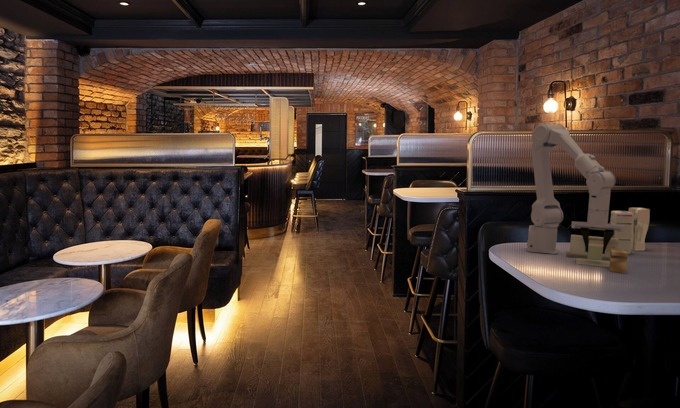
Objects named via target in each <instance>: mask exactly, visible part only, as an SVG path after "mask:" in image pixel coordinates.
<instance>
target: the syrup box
mask: <svg viewBox="0 0 680 408" xmlns="http://www.w3.org/2000/svg"><path fill="white" fill-rule="evenodd" d="M628 211H629V210H628ZM628 211H627V210H611V211H610V222H609V224H615V225H623V226H624V230H623V232H618V231H614V235H613V236H612V238H618V240H619V242H618V250H622V251H626V252H627V253H628V254H627V255H631V251H632V250H631V241H632V227H633V213H630V212H628Z"/></svg>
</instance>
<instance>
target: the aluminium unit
mask: <svg viewBox="0 0 680 408" xmlns="http://www.w3.org/2000/svg"><path fill="white" fill-rule="evenodd" d="M589 238H596V239H603V238H604V236H603V237H602V236H594V235H593V236H592V235H589ZM589 238H588V239H589ZM569 242H570V243H569V251H566V252H565V253H566V254H565V256H566V257H567V258H574V257H575V258H581V259H588V258H587V252H585V243H584V239H583V236H582V234H581V235H579V234H571V235H570V241H569ZM618 242H619V240H618V238H611V239H610V241H609V243H608V245H607V247H606V250H605V254H602V260H601V261H610V253H611V250H618ZM593 260H595V259H593Z"/></svg>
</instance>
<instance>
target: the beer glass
mask: <svg viewBox="0 0 680 408" xmlns="http://www.w3.org/2000/svg"><path fill="white" fill-rule="evenodd" d="M628 212H630V213H633V227H632V241H631V251H634V252H645V251H646V244H645V239H646V235H647V232H648V230H649V225H650V220H651V219H650V216H651V215H650V212H651V209H650V208H645V207H628Z"/></svg>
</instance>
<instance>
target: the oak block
mask: <svg viewBox="0 0 680 408" xmlns="http://www.w3.org/2000/svg"><path fill="white" fill-rule="evenodd" d="M628 255H629V254H628V253H627V252H626V251H622V250H611V253H610V266H609V267H608V268H609V272H611V273H619V274H626V272H627V265H628V264H627V263H628V262H627V261H628Z"/></svg>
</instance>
